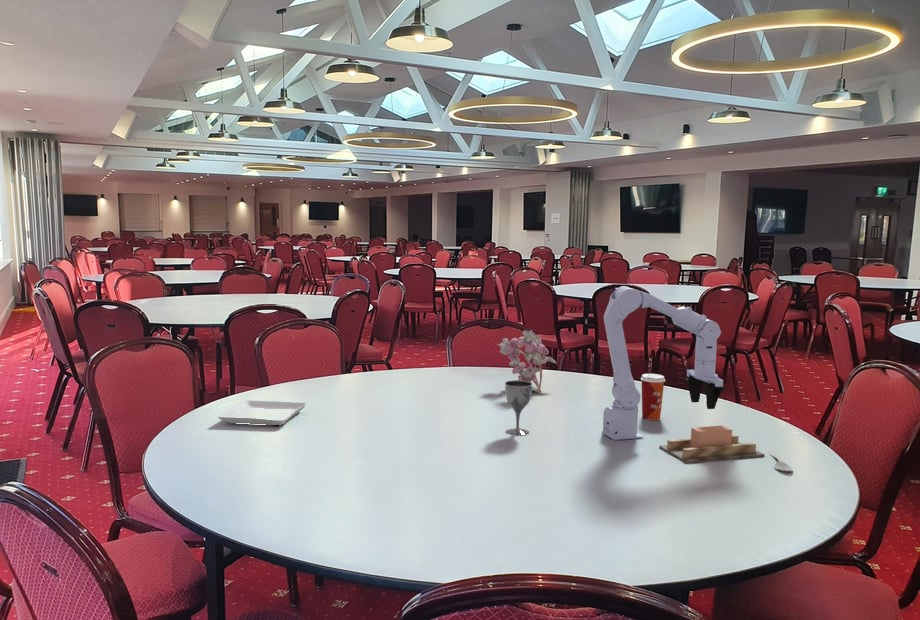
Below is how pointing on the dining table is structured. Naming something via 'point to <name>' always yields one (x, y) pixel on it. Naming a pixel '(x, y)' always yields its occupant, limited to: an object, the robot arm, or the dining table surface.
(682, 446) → the wooden stand
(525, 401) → the wine glass
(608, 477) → the dining table surface
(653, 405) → the paper cup
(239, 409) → the salad plate
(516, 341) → the flower
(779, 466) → the spoon
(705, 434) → the block
